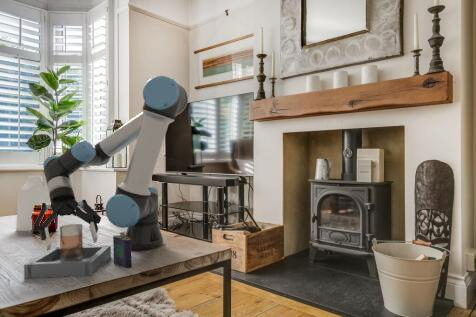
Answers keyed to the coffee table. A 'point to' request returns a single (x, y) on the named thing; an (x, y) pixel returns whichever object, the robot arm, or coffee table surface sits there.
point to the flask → (122, 250)
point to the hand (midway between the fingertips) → (73, 244)
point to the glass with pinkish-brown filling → (71, 242)
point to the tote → (67, 263)
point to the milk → (30, 201)
